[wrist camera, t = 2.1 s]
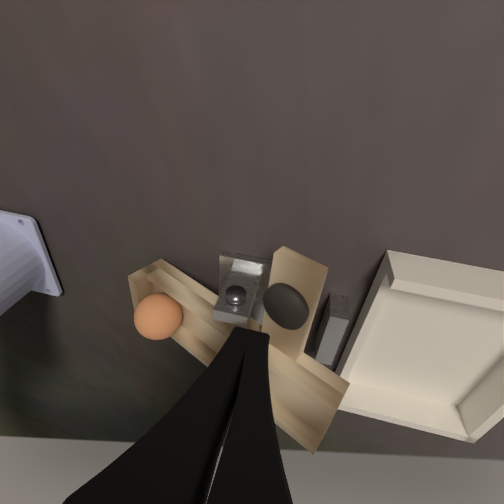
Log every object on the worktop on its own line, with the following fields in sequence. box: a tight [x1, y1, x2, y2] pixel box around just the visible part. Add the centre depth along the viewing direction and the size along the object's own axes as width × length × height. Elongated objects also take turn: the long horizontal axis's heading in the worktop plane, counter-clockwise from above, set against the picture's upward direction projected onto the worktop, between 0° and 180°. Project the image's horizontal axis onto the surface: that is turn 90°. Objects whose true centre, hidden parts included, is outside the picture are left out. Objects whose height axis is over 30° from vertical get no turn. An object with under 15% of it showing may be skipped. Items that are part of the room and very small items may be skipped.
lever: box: [128, 246, 350, 454], centre depth 18 cm, size 15×11×3 cm
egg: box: [134, 293, 182, 340], centre depth 21 cm, size 3×3×3 cm
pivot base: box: [213, 251, 349, 365], centre depth 21 cm, size 9×8×5 cm
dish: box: [335, 250, 504, 443], centre depth 21 cm, size 10×13×3 cm
